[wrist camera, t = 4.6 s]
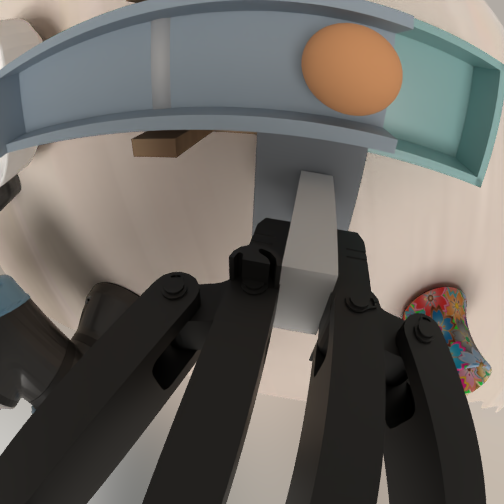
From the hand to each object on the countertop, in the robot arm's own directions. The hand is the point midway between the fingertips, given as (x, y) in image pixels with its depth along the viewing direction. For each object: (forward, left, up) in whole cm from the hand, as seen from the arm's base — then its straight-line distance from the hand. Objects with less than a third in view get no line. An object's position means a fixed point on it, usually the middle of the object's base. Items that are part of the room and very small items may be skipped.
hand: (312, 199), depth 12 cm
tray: (+6, +6, -8) cm, 12 cm away
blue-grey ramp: (-8, +3, -1) cm, 9 cm away
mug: (+17, -16, -9) cm, 24 cm away
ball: (+1, +6, +1) cm, 7 cm away
